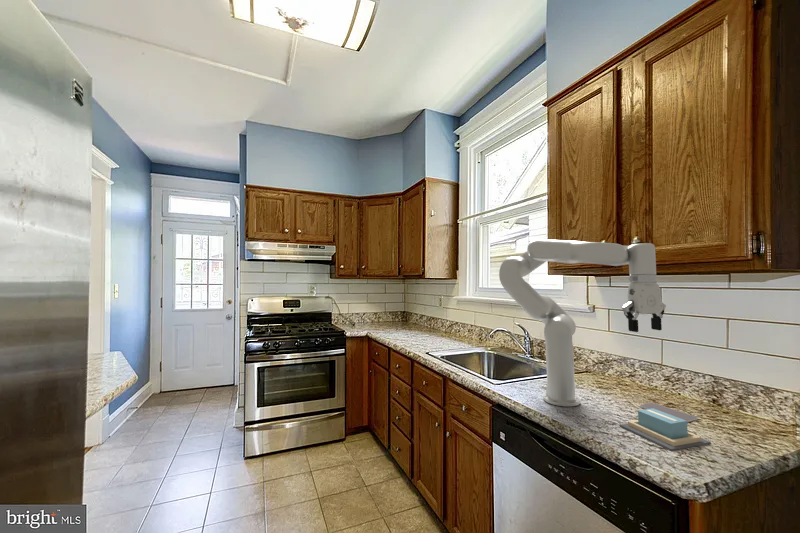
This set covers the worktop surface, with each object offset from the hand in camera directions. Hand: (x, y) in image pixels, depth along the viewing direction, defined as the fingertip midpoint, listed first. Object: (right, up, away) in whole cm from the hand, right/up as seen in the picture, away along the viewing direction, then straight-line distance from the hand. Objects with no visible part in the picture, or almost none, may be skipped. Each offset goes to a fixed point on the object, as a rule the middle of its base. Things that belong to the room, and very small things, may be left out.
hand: (645, 330), depth 117 cm
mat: (-5, -28, -15) cm, 32 cm away
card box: (-5, -28, -15) cm, 32 cm away
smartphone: (+8, -29, +1) cm, 30 cm away
